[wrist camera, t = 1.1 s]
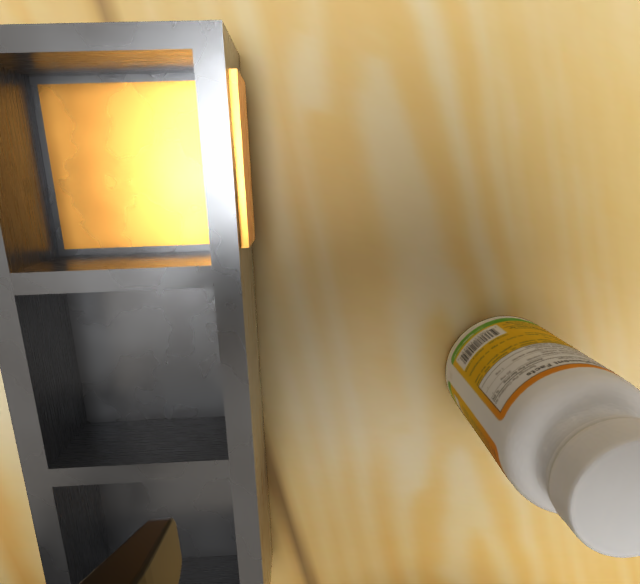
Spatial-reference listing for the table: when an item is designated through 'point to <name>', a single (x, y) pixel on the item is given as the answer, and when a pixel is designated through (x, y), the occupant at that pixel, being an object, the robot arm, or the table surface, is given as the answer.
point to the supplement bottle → (554, 427)
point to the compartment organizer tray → (132, 294)
